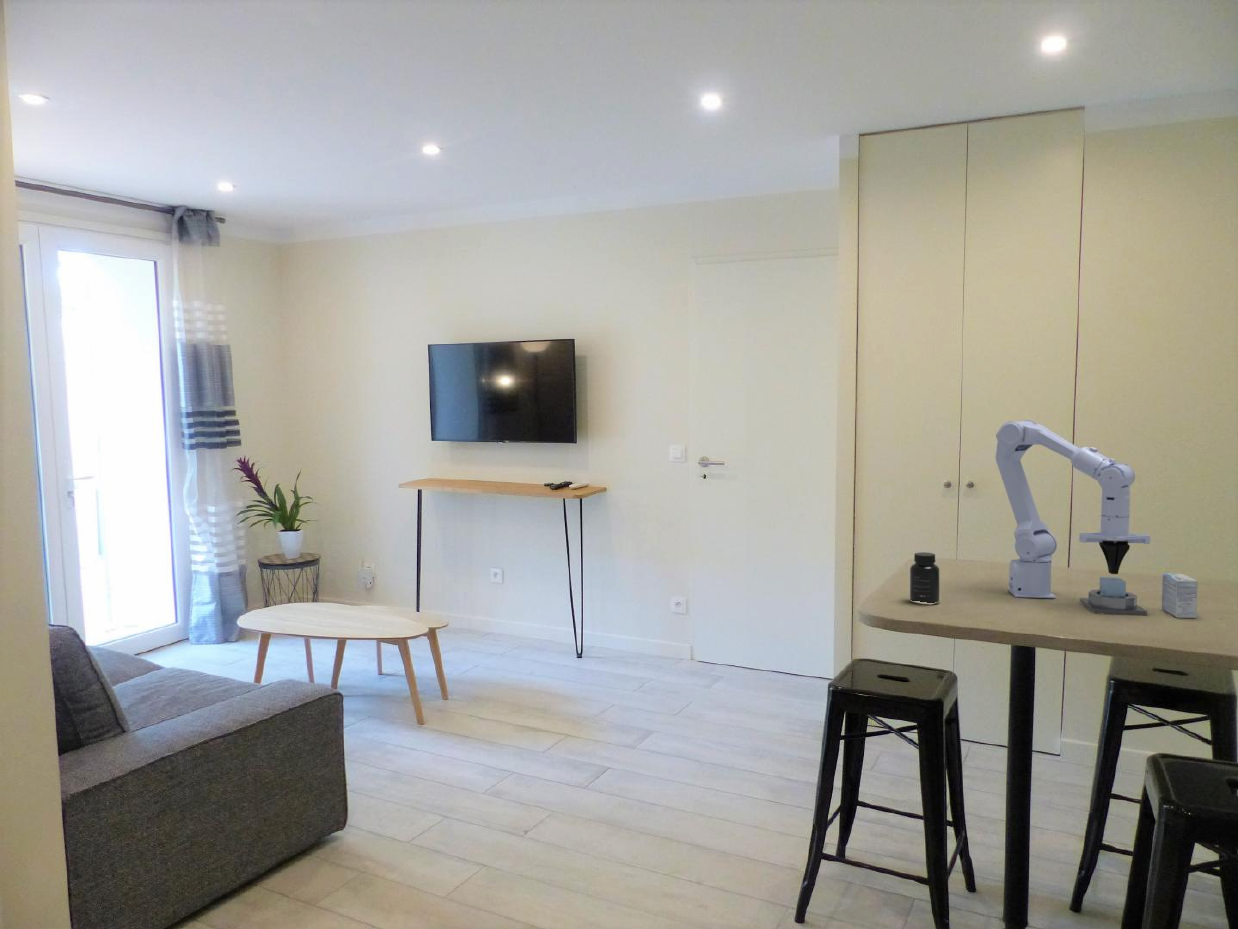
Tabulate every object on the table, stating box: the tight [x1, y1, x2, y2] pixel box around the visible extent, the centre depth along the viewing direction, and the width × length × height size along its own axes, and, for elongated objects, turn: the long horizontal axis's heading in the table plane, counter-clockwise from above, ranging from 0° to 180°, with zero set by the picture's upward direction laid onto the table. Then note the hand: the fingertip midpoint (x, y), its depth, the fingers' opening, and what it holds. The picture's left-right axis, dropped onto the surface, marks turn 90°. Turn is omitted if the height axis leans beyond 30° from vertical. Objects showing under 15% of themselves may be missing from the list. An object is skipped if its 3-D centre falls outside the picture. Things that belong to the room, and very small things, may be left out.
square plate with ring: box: [1078, 588, 1148, 616], centre depth 205 cm, size 11×11×4 cm
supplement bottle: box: [909, 551, 940, 603], centre depth 213 cm, size 7×7×12 cm
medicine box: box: [1161, 573, 1199, 619], centre depth 199 cm, size 8×4×9 cm, turn 168°
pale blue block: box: [1098, 576, 1127, 597], centre depth 204 cm, size 5×5×6 cm
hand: (1113, 573), depth 204 cm, fingers closed
